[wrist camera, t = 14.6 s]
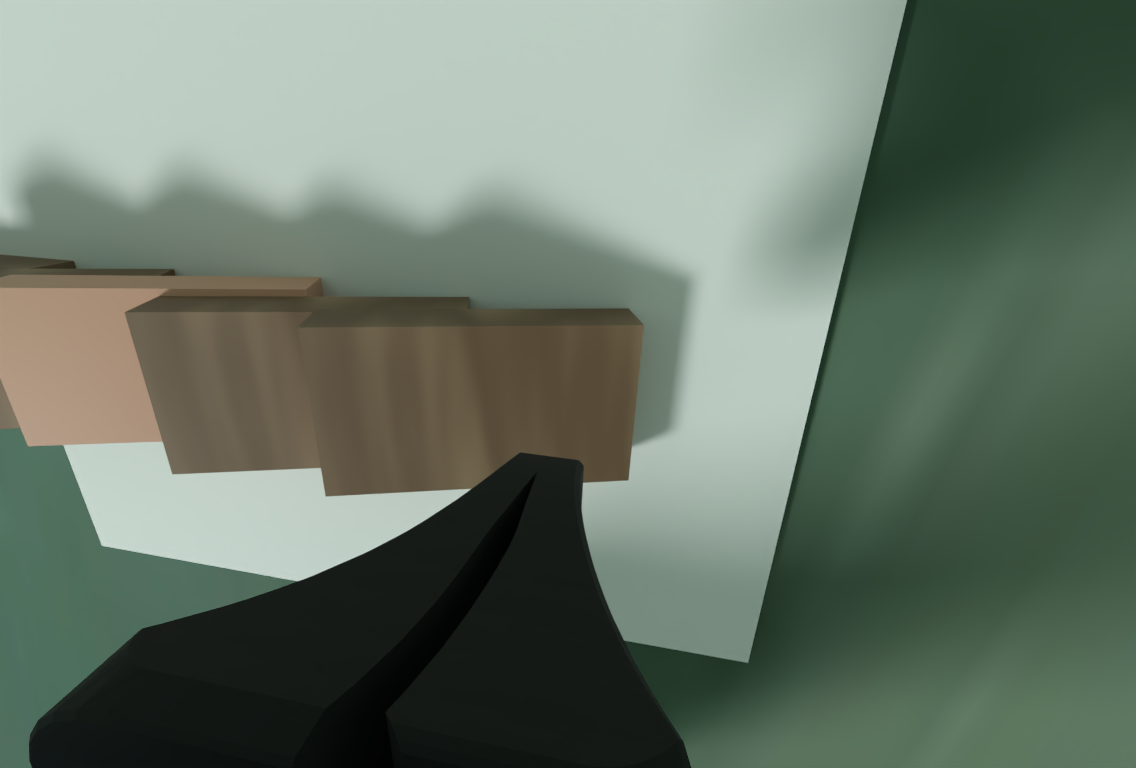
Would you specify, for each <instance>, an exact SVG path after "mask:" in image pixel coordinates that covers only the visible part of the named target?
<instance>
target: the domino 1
mask: <svg viewBox="0 0 1136 768" xmlns="http://www.w3.org/2000/svg"><path fill="white" fill-rule="evenodd" d="M158 296H267V297H323V290H322V283H321V277H237V276H121V275H7V276H4V277H0V379H1V381H2V384H3V386H4V389H5V391H6V394H7V396H8V398H9V401H10V403H11V406H12V408H13V411H14V413H15V416H16V418H17V420H18V423H19V425H20V428H21V430H22V433H23V435H24V438H25V440H26V442H27V445H28V446H48V445H77V444H106V443H135V442H163V441H162V438H161V434H160V431H159V428H158V424H157V421H156V418H155V414H154V411H153V407H152V404H151V401H150V397H149V394H148V390H147V387H146V384H145V380H144V377H143V374H142V370H141V367H140V363H139V360H138V357H137V353H136V350H135V347H134V343H133V340H132V336H131V333H130V330H129V326H128V323H127V320H126V316H125V313H124V312H126V311H128V310H130V309H132V308H135V307H137V306H139V305H141V304H143V303H145V302H147V301H150V300H152V299H154V298H156V297H158Z"/></svg>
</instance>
